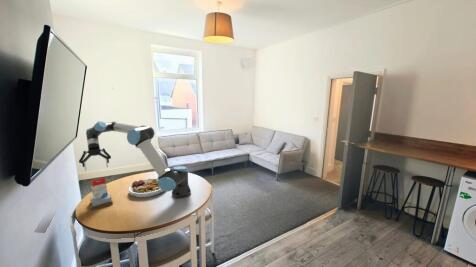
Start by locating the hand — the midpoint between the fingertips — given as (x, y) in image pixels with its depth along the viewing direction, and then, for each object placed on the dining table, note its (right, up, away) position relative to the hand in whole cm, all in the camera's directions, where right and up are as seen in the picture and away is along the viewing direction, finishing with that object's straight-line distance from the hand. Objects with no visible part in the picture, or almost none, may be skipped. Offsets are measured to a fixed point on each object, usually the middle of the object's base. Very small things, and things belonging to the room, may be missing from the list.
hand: (96, 168), depth 154 cm
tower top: (+4, -24, -1) cm, 25 cm away
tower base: (+4, -27, -1) cm, 28 cm away
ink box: (+4, -21, -2) cm, 22 cm away
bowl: (+30, -23, +21) cm, 43 cm away
